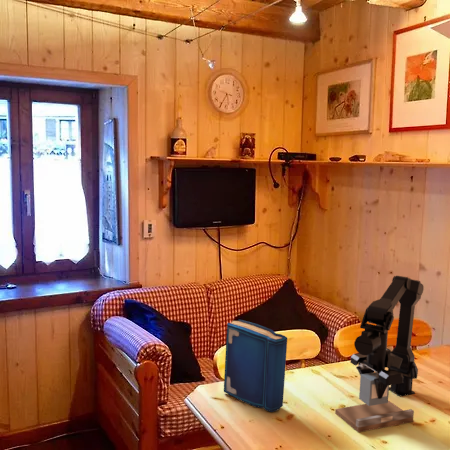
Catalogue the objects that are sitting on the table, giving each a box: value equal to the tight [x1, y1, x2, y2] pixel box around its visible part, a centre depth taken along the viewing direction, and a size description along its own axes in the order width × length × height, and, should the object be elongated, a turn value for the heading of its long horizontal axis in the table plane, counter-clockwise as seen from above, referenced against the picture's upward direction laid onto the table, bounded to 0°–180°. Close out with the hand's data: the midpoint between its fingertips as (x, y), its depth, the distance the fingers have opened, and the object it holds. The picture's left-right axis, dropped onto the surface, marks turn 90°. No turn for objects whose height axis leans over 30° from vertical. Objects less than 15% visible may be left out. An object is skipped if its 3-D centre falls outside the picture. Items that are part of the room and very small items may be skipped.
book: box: [223, 318, 288, 413], centre depth 168 cm, size 22×7×25 cm, turn 47°
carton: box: [358, 371, 390, 406], centre depth 160 cm, size 5×7×8 cm
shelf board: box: [334, 400, 415, 433], centre depth 160 cm, size 20×12×4 cm, turn 111°
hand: (374, 394), depth 160 cm, fingers closed on carton, 5 cm apart
